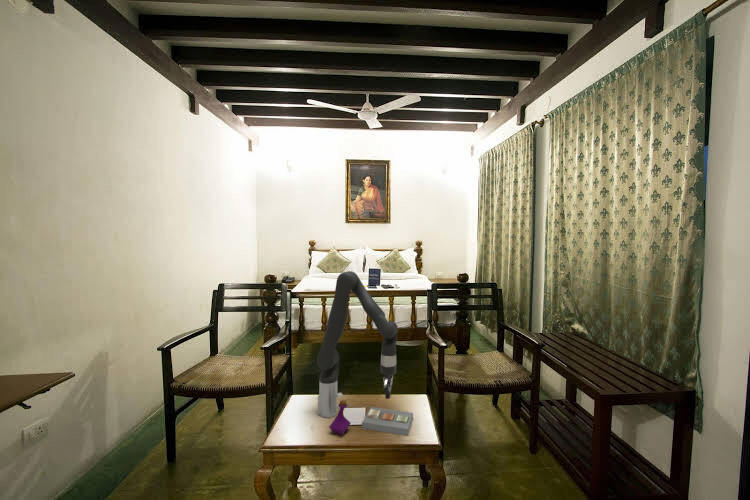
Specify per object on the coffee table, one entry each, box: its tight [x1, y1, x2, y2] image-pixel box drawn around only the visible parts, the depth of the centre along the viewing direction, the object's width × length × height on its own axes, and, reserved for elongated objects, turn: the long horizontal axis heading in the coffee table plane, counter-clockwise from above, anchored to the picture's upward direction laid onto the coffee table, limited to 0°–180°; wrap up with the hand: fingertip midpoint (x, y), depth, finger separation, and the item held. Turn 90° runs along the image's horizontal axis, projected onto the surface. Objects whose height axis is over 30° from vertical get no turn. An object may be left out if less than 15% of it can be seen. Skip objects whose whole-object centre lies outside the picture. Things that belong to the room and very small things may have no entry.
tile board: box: [361, 406, 414, 437], centre depth 161 cm, size 22×15×3 cm
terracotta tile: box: [382, 413, 394, 421], centre depth 161 cm, size 5×5×2 cm
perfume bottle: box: [328, 392, 352, 436], centre depth 154 cm, size 8×8×18 cm
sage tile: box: [396, 415, 408, 423], centre depth 160 cm, size 5×5×2 cm
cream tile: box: [367, 409, 381, 419], centre depth 163 cm, size 5×5×2 cm
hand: (387, 398), depth 161 cm, fingers closed
